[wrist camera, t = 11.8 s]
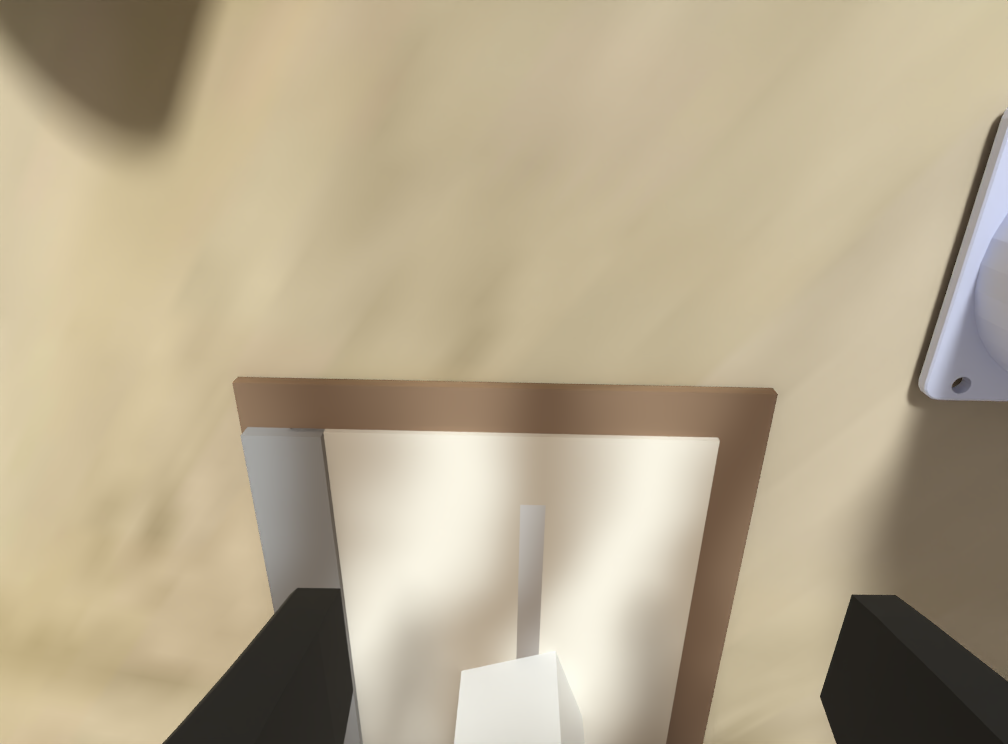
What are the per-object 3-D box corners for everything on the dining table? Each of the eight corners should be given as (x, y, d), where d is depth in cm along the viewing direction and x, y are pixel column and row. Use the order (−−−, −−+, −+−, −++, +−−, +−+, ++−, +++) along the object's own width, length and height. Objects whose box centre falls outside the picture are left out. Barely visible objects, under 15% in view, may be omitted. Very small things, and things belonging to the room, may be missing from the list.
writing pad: (772, 388, 19) (784, 402, 18) (691, 775, 26) (696, 798, 26) (238, 377, 19) (225, 390, 18) (309, 763, 27) (302, 785, 26)
